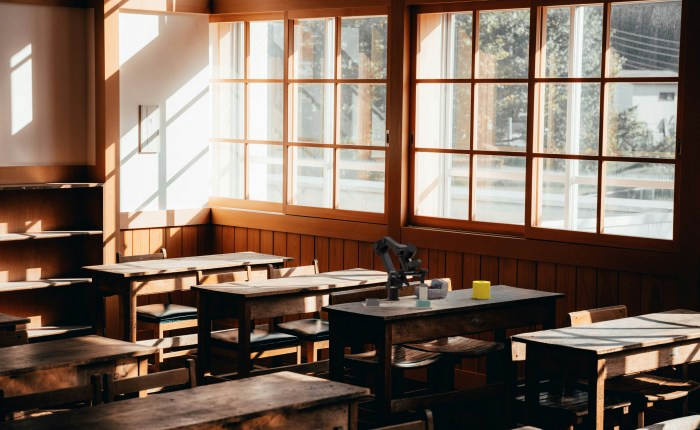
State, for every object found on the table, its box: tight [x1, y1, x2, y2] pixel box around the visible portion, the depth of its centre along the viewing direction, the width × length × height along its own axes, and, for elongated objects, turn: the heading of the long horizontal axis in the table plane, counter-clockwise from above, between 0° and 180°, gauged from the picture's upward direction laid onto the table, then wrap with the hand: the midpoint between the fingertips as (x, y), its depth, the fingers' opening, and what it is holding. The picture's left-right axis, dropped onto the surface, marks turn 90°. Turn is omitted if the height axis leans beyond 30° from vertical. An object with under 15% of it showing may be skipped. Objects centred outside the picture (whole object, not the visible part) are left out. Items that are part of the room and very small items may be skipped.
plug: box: [418, 283, 429, 301], centre depth 575 cm, size 3×3×12 cm
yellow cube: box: [472, 280, 491, 300], centre depth 620 cm, size 10×10×9 cm
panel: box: [362, 298, 433, 310], centre depth 576 cm, size 12×37×4 cm, turn 94°
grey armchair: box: [413, 278, 449, 300], centre depth 616 cm, size 13×11×20 cm
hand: (416, 286), depth 581 cm, fingers open, 9 cm apart
